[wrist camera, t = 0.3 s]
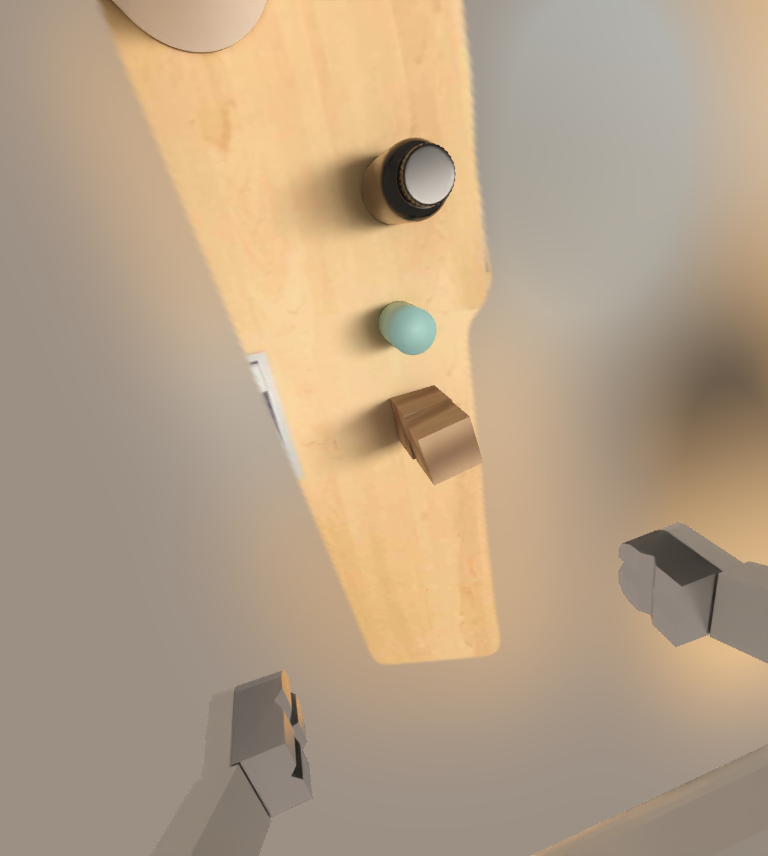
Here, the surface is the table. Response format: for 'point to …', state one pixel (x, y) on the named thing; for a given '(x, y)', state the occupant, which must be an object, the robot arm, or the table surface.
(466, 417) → the tower top
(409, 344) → the teal rounded cylinder
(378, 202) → the supplement bottle
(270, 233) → the table surface
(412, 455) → the tower base
